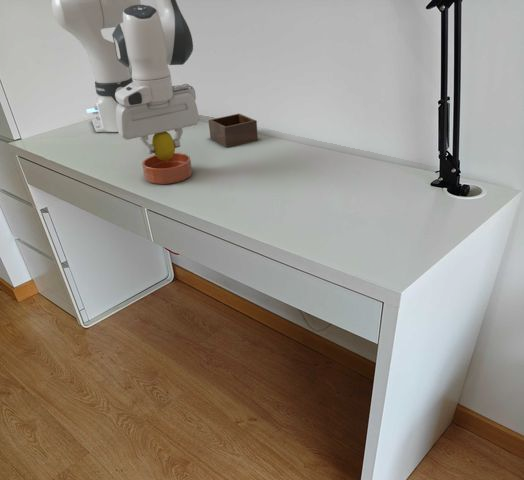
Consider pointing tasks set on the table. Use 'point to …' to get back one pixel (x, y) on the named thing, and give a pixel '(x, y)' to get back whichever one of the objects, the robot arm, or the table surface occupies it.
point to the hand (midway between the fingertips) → (163, 149)
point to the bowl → (167, 169)
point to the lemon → (163, 146)
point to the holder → (233, 130)
